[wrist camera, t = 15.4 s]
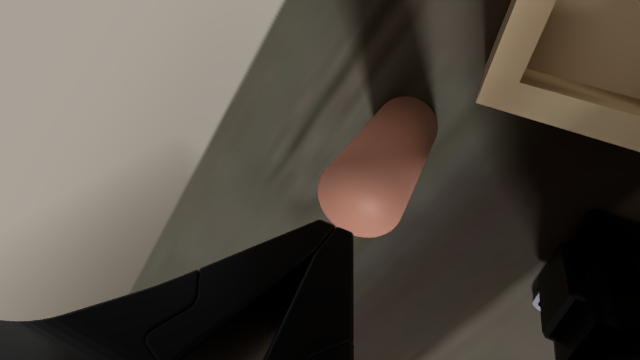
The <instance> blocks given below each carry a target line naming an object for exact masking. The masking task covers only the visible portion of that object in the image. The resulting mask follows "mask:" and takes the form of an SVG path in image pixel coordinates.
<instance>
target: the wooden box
mask: <svg viewBox="0 0 640 360" xmlns="http://www.w3.org/2000/svg"><path fill="white" fill-rule="evenodd" d="M476 103H478V104H481V105H485V106H488V107H491V108H495V109H498V110H501V111H505V112H508V113H511V114H515V115H518V116H521V117H525V118H528V119H531V120H535V121H538V122H541V123H545V124H548V125H551V126H555V127H558V128H561V129H565V130H568V131H571V132H575V133H578V134H581V135H585V136H588V137H591V138H595V139H598V140H601V141H605V142H608V143H611V144H615V145H618V146H621V147H625V148H628V149H631V150H635V151H638V152H640V0H511V2H510V5H509V7H508V10H507V13H506V15H505V18H504V20H503V23H502V25H501V28H500V30H499V33H498V35H497V38H496V40H495V43H494V45H493V48H492V50H491V53H490V56H489V58H488V61H487V63H486V66H485V69H484V73H483V77H482V81H481V84H480V88H479V92H478V96H477V99H476Z"/></svg>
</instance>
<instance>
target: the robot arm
mask: <svg viewBox="0 0 640 360" xmlns="http://www.w3.org/2000/svg"><path fill="white" fill-rule="evenodd" d="M594 219H602V220H603V221H602V222H601V223H598V224H595V223H593V222H592V221H593V220H594ZM538 285H539V288H538V289H537V291H536V292H535V294H534V295H533V305H534V307H535V308H536V309H537V310H539V311H541V323H542V332H543V334H544V336H545V338H547V339H549V340H552V341H553V342H554V351H555V360H640V223H638V222H635V221H632V220H629V219H626V218H623V217H620V216H617V215H614V214H611V213H608V212H605V211H602V210H592V211H590V212H588V213H587V214H586V215H585V217H584V218H583V220H582V221H581V223H580V224H579V226H578V227H577V229H576V231H575V232H574V234H573V235H572V237H571V238H570V240H569V241H568V242H564V243H561V244H560V245H559V246H558V248H557V249H556V251H555V252H554V254H553V256H552V257H551V259H550V260H549V262H548V263H547V265H546V267H545V268H544V270H543V271H542V273H541V274H540V276H539V278H538ZM539 301H540V302H539ZM353 342H354V341H353V233H352V232H350V231H348V230H345V229H343V228H340V227H336V228H335V226H334V225H333V224H330V223H328V222H325V221H323V220H317V221H314V222H312V223H309V224H307V225H305V226H302V227H300V228H297V229H295V230H292V231H290V232H287V233H285V234H283V235H280V236H278V237H275V238H273V239H270V240H268V241H266V242H263V243H261V244H258V245H256V246H253V247H251V248H248V249H246V250H244V251H241V252H239V253H236V254H234V255H231V256H229V257H227V258H224V259H222V260H219V261H217V262H214V263H212V264H209V265H207V266H205V267H202V268H200V269H199V271H198V270H194V271H192V272H190V273H187V274H185V275H182V276H180V277H177V278H174V279H172V280H169V281H167V282H164V283H161V284H159V285H156V286H153V287H150V288H147V289H144V290H141V291H138V292H135V293H132V294H129V295H125V296H122V297H119V298H116V299H112V300H109V301H106V302H103V303H99V304H96V305H93V306H89V307H86V308H83V309H80V310H76V311H73V312H70V313H67V314H63V315H60V316H56V317H52V318H47V319H42V320H34V321H19V322H18V321H3V320H0V360H354V345H353Z"/></svg>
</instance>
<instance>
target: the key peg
mask: <svg viewBox="0 0 640 360" xmlns="http://www.w3.org/2000/svg"><path fill="white" fill-rule="evenodd" d="M437 130H438V124H437V119H436V116H435V114H434V112H433V111H432V109H431V108H430V107H429V106H428V105H427V104H426V103H425V102H423V101H421V100H419V99H417V98H414V97H409V96H402V97H396V98H394V99H391V100H390V101H388V102H387V103H385V104H384V105H383V106H382V107H381V108H380V110H379V111H378V112H377V113H376V114H375V115H374V116H373V117H372V119H371V120H370V121H369V122H368V123H367V124H366V125H365V126H364V127H363V129H362V130H361V131H360V132H359V133H358V134H357V135H356V136H355V137H354V139H353V140H352V141H351V142H350V143H349V144H348V145H347V146H346V148H345V149H344V150H343V151H342V152H341V153H340V154H339V155H338V156H337V158H336V159H335V160H334V161H333V162H332V163H331V164H330V165H329V166H328V168H327V169H326V170H325V171H324V172H323V174H322V176H321V178H320V180H319V184H318V198H319V202H320V205H321V208H322V210H323V212H324V213H325V215H326V216H327V217H328V219H329V220H330V221H331V222H332V223H333V224H334V225H335V226H337V227H340V228H343V229H345V230H348V231H350V232H352V233H353V235H354V236H358V237H366V238H371V237H378V236H381V235H384V234H386V233H388V232H390V231H391V230H392V229H393V228H395V227H396V225H397V224H398V223H399V221H400V219H401V217H402V215H403V213H404V210H405V208H406V206H407V203H408V201H409V199H410V196H411V194H412V192H413V189H414V187H415V185H416V182H417V180H418V178H419V175H420V173H421V171H422V168H423V166H424V164H425V161H426V159H427V157H428V154H429V152H430V150H431V147H432V145H433V143H434V140H435V138H436V135H437Z"/></svg>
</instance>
